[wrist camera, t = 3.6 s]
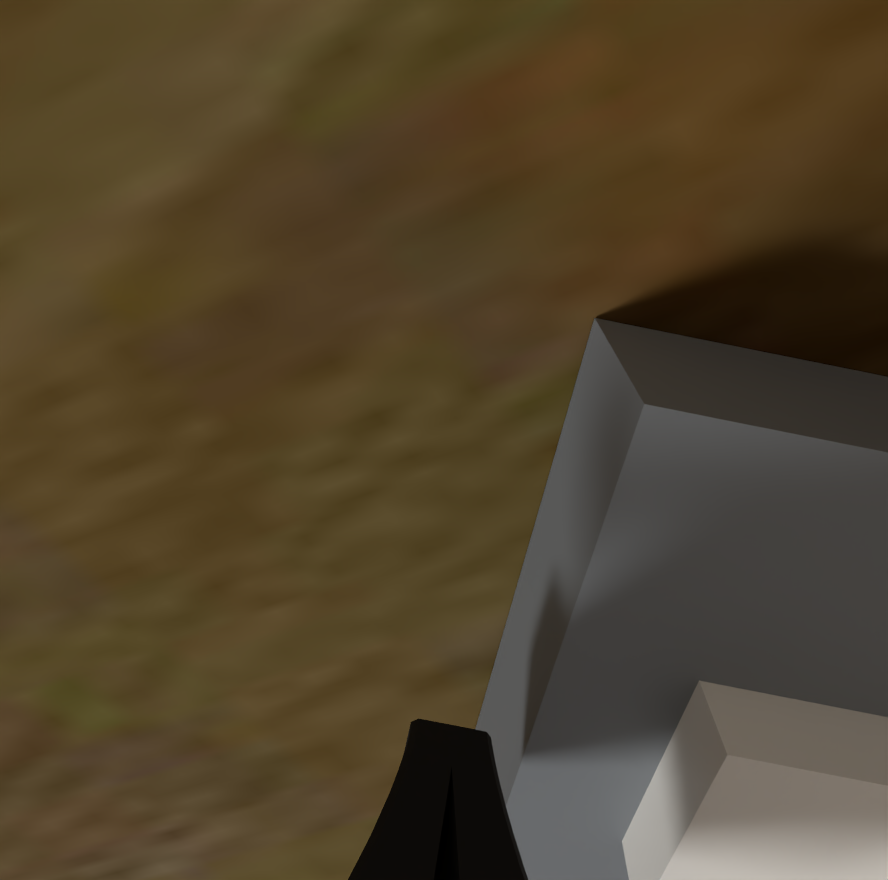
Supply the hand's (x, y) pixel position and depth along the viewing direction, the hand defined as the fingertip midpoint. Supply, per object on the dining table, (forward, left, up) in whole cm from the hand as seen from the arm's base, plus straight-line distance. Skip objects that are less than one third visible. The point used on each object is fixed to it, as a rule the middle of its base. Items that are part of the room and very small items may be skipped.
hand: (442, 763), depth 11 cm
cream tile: (0, -6, -1) cm, 6 cm away
